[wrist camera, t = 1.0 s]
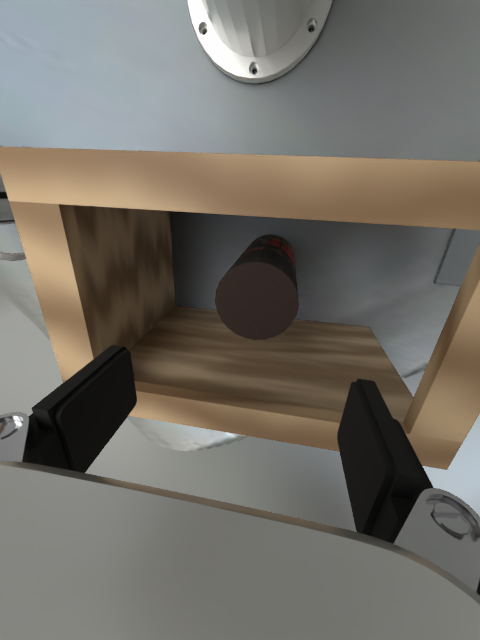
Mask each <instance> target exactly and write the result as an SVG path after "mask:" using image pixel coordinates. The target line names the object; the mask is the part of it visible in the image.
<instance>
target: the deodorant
mask: <svg viewBox="0 0 480 640" xmlns="http://www.w3.org/2000/svg"><path fill="white" fill-rule="evenodd" d="M215 303H216V308H217V312H218V314H219V316H220V318H221V320H222V322H223V323H224V324H225V325H226V326H227V328H228V329H230V330H231V331H232V332H234V333H235V334H237V335H239V336H241V337H244V338H247V339H252V340H266V339H269V338H273V337H276V336H277V335H279V334H281V333H283V332H284V331H285V330H286V329H287V328H288V327H289V326H290V325H291V324H292V322H293V320H294V319H295V317H296V314H297V310H298V292H297V282H296V273H295V264H294V254H293V251H292V248H291V247H290V245H289V244H288V242H286V241H285V240H284V239H283V238H281V237H278V236H275V235H264V236H261V237H259V238H257V239H256V240H254V241H253V242H252V243H251V244H250V246H249V247H248V248H247V249H246V250H245V252H244V253H243V254H242V255H241V256H240V258H239V259H238V260H237V261H236V262H235V264H234V265H233V266H232V267H231V268H230V270H229V271H228V272H227V273H226V274H225V276H224V277H223V278H222V280H221V281H220V283H219V285H218V288H217V290H216V298H215Z"/></svg>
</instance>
